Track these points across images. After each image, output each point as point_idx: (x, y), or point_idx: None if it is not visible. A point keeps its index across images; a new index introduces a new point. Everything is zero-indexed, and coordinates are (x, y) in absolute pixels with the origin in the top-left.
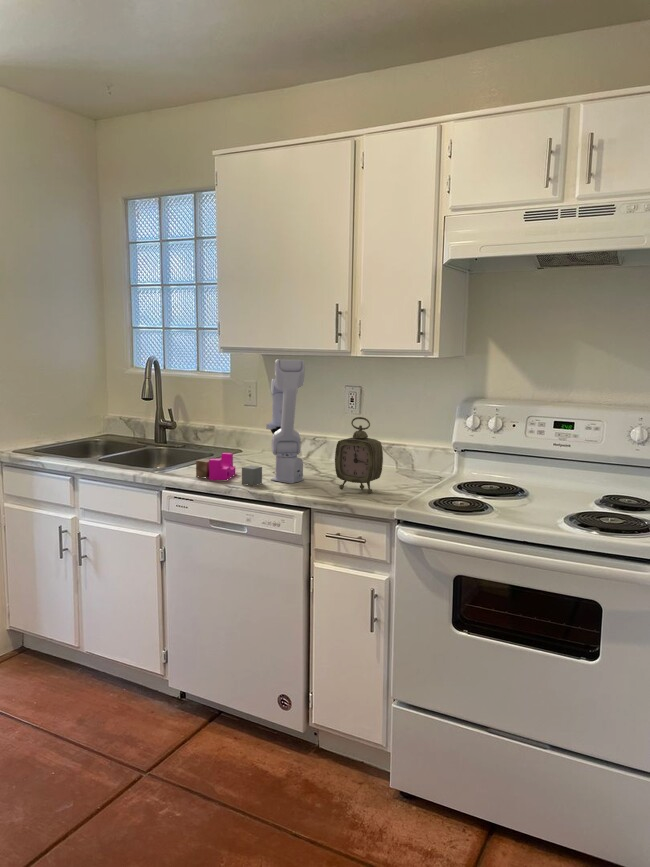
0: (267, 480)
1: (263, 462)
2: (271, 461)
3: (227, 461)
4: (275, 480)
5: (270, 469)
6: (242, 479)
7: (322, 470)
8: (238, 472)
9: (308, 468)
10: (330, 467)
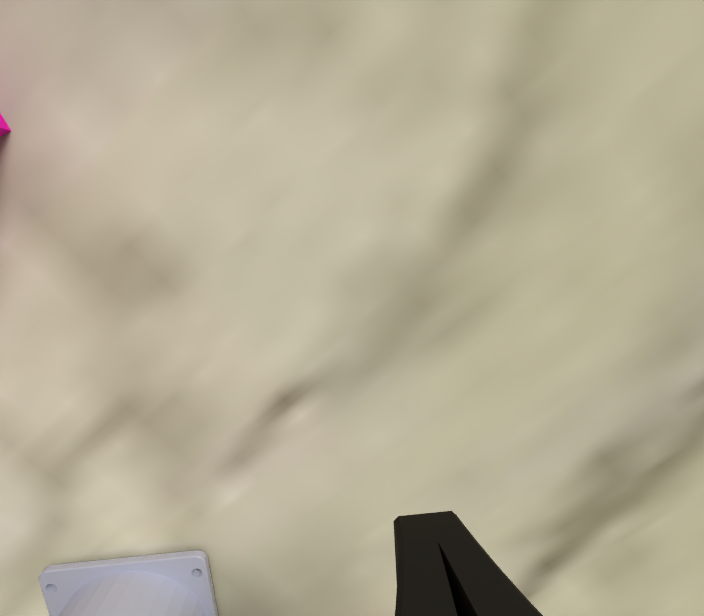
0: (35, 545)
1: (594, 20)
2: (681, 52)
3: None
4: (50, 607)
5: (360, 304)
6: None
7: (568, 590)
8: (53, 174)
9: (576, 489)
10: (691, 568)
